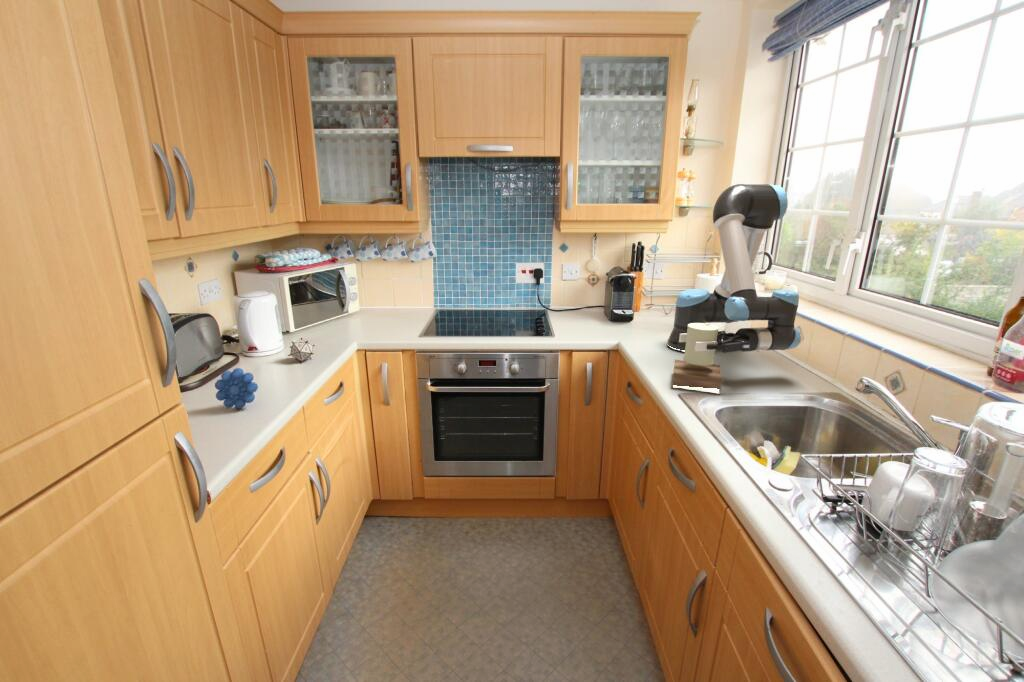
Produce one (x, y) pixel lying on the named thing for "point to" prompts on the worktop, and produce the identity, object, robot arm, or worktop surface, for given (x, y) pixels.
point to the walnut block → (696, 375)
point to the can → (700, 334)
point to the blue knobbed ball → (236, 388)
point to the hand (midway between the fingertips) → (687, 342)
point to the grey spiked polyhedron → (301, 350)
